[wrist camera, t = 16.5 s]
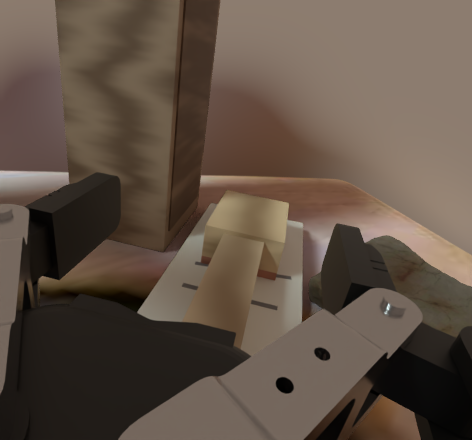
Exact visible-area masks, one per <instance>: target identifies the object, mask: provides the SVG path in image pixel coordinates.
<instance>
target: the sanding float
mask: <svg viewBox="0 0 472 440" xmlns="http://www.w3.org/2000/svg"><path fill="white" fill-rule="evenodd" d="M288 209H289V203H286V202H281V201H277V200H272V199H268V198H263V197H258V196H254V195H249V194H244V193H240V192H235V191H230V190H226V192H225V194H224V195H223V197H222V199H221V200H220V202H219V204H218V205H217V207H216V209H215V210H214V212H213V213H212V215H211V217H210V218H209V220H208V222H207V223H206V225H205V233H204V241H203V248H202V256H201V263H204V264H208V265H209V266H208V268H207V270H206V272H205V274H204V276H203V278H202V280H201V282H200V285H199V287H198V289H197V291H196V293H195V295H194V297H193V299H192V302H191V304H190V306H189V308H188V310H187V312H186V314H185V316H184V318H183V321H182V322H192V323H200V324H204V325H208V326H212V327H216V328H220V329H224V330H228V331H232V332H236V337H235V342H234V346H236V347H238V348H240V349H241V345H242V340H243V336H244V331H245V327H246V322H247V318H248V313H249V309H250V304H251V300H252V295H253V291H254V286H255V282H256V277H257V276H258V277H262V278H266V279H270V280H275V279H276V275H277V271H278V267H279V264H280V260H281V256H282V252H283V248H284V244H285V237H286V227H287V218H288Z"/></svg>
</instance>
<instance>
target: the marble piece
mask: <svg viewBox="0 0 472 440" xmlns="http://www.w3.org/2000/svg"><path fill="white" fill-rule="evenodd" d="M366 244H370V245H372V246H373V247H374V248H376V249H377V250H378V251H379V252H380V253H381V255H382V257H383V260H384V262H385V265H386V267H387V269H388V272H389V274H390V276H391V279H392V281H393V284H394V286H395V288H396V291H397V293H400V294H401V295H403V296H405V297H407V298H408V299H410V300H411V301H412V302H413V303H415V304H416V305H417V307H418V308H419V309H420V311H421V313H422V315H423V320H422V322H423V323H425V324H427V325H428V326H431V327H433V328H435V329H437V330H440V331H442V332H444V333H446V334H449V335H451V336H453V337H456V338H457V336H458V334H459V333H460V331H461V330H462V328H464V327H467V326H472V287H471V286H467V285H465V284H463V283H460V282H459V281H457V280H456V279H454V278H452V277H450V276H449V275H447V274H445V273H443V272H441V271H440V270H438V269H436V268H434V267H433V266H431V265H430V264H428V263H427V262H425V261H424V260H423V259H422V258H421V257H420V256H418V255H417V254H416V253H415V252H413V251H412V250H411V249H410V248H409V247H408V246H406V245H405V244H404V243H402V242H401V241H399V240H397V239H395V238H393V237H391V236H381V237H377V238H374V239H372V240H370V241H369V242H366ZM309 297H310V300H311V302H313V303H315V304H317V305H319V306H320V307H321V308H322V309H323V298H322V287H321V272H320V273H319V274H317V275H315V276H314V277H312V278H311V279H310V282H309Z"/></svg>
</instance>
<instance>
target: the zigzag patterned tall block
mask: <svg viewBox="0 0 472 440" xmlns="http://www.w3.org/2000/svg"><path fill="white" fill-rule="evenodd" d="M55 5H56V18H57V31H58V44H59V57H60V69H61V81H62V95H63V107H64V120H65V133H66V145H67V159H68V170H69V184H72V183H77V182H79V181H81V180H83V179H84V178H86V177H88V176H90V175H92V174H94V173H96V172H100V173H105V174H109V175H114V176H118V177H119V179H120V183H121V218H120V222H119V225H118V227H117V229H116V230H115V231H114V232H113V233H112V234H111V235H110V236H108V237H107V238H106V239H110V240H115V241H119V242H123V243H127V244H131V245H135V246H140V247H144V248H148V249H152V250H156V251H160V252H164V251H165V249H166V248H167V247H168V245H169V244H170V243H171V241H172V240H173V239H174V237H175V236H176V235H177V233H178V232H179V231H180V229H181V228H182V227H183V225H184V224H185V223H186V221H187V220H188V219H189V217H190V216H191V215H192V213H193V212H194V211H195V209H196V208H197V205H198V196H199V187H200V178H201V168H202V160H203V151H204V142H205V133H206V124H207V115H208V106H209V98H210V88H211V79H212V70H213V62H214V53H215V43H216V35H217V26H218V17H219V8H220V0H55Z"/></svg>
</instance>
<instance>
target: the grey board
mask: <svg viewBox="0 0 472 440" xmlns="http://www.w3.org/2000/svg"><path fill="white" fill-rule="evenodd" d="M217 205H218V204H214V203H211V204H210V205H209V207H208V208H207V210H206V211H205V213H204V214H203V216H202V217H201V219H200V220H199V221H198V223H197V224H196V226H195V227H194V229H193V230H192V232H191V233H190V235H189V236H188V238H187V239H186V241H185V242H184V244H183V245H182V247H181V248H180V250H179V251H178V253H177V254H176V256H175V257H174V259H173V260H172V262H171V263H170V265H169V266H168V268H167V269H166V270H165V272H164V273H163V275H162V276H161V278H160V279H159V281H158V282H157V284H156V285H155V287H154V288H153V290H152V291H151V293H150V294H149V296H148V297H147V299H146V300H145V302H144V303H143V305H142V306H141V308H140V309H139V311H138V312H137V313H138V314H140V315H142V316H144V317H146V318H148V319H151V320H156V321H174V322H182V321H183V318H184V316H185V314H186V312H187V310H188V308H189V306H190V304H191V302H192V299H193V297H194V295H195V293H196V291H197V289H198V287H199V285H200V282H201V280H202V278H203V276H204V274H205V272H206V270H207V268H208V266H209V265H208V264H204V263H201V256H202V248H203V241H204V233H205V225H206V223H207V222H208V220H209V218H210V217H211V215H212V213H213V212H214V210H215V209H216V207H217ZM302 277H303V223H300V222H295V221H291V220H287V227H286V237H285V244H284V248H283V252H282V256H281V260H280V264H279V267H278V271H277V275H276V279H275V280H270V279H266V278H262V277H258V276H257V277H256V282H255V286H254V291H253V295H252V300H251V304H250V309H249V313H248V318H247V322H246V327H245V331H244V336H243V340H242V345H241V350H243V351H244V352H246V353H248V354H249V355H250V356H253V355H255V354H256V353H258V352H259V351H260V350H262V349H263V348H265V347H266V346H268V345H269V344H271V343H272V342H274V341H275V340H277V339H278V338H280V337H281V336H283V335H284V334H286V333H287V332H289V331H290V330H292V329H293V328H295V327H296V326H297V325H299V324H300V323H302Z"/></svg>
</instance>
